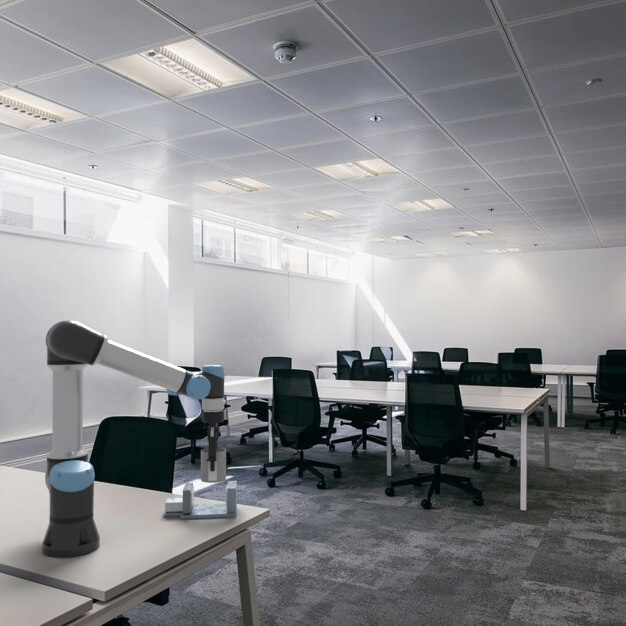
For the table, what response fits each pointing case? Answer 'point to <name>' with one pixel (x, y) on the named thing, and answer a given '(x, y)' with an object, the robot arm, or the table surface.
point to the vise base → (212, 507)
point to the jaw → (181, 500)
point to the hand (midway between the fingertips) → (213, 477)
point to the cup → (220, 465)
